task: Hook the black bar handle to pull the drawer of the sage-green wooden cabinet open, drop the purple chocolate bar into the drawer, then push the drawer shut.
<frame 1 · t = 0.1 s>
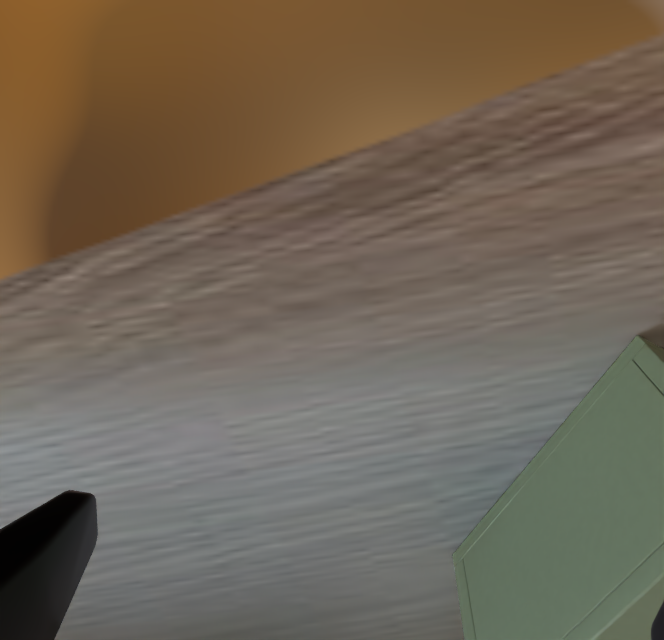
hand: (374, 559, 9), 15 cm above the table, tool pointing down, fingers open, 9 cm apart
cabinet: (661, 519, 26), on the table
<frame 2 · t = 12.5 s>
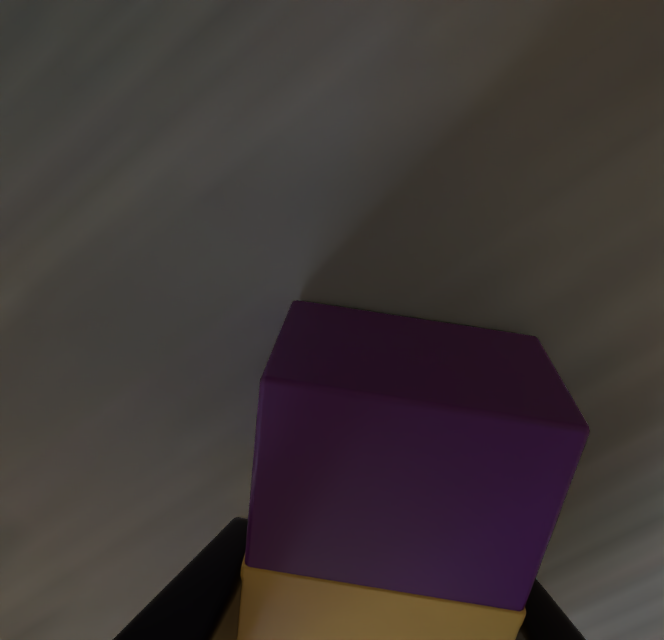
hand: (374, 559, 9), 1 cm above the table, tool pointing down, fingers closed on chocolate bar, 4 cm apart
chocolate bar: (374, 514, 10), on the table, touching gripper
when the fingers open (6 cm above the table, at t = 17.2 s): chocolate bar drops 2 cm, point 3 cm above the table.
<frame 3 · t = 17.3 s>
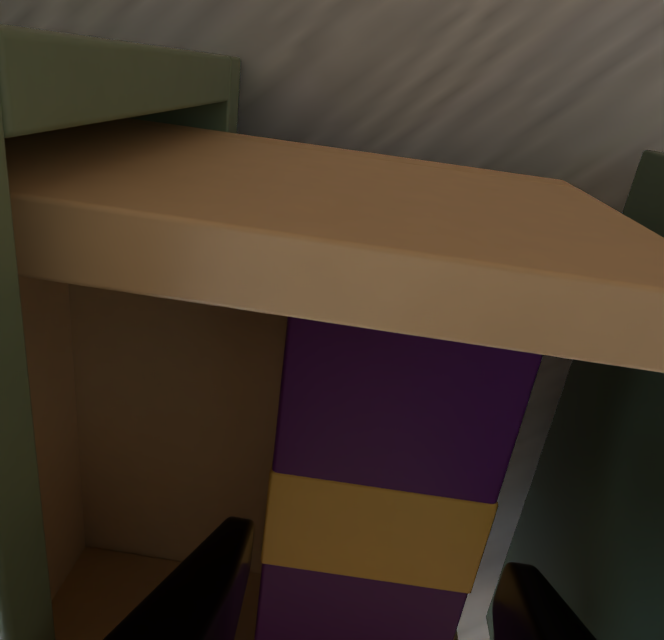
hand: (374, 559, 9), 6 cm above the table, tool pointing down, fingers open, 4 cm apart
drawer: (449, 514, 10), point 4 cm above the table, slide at 7.8 cm
chocolate bar: (374, 446, 12), point 3 cm above the table
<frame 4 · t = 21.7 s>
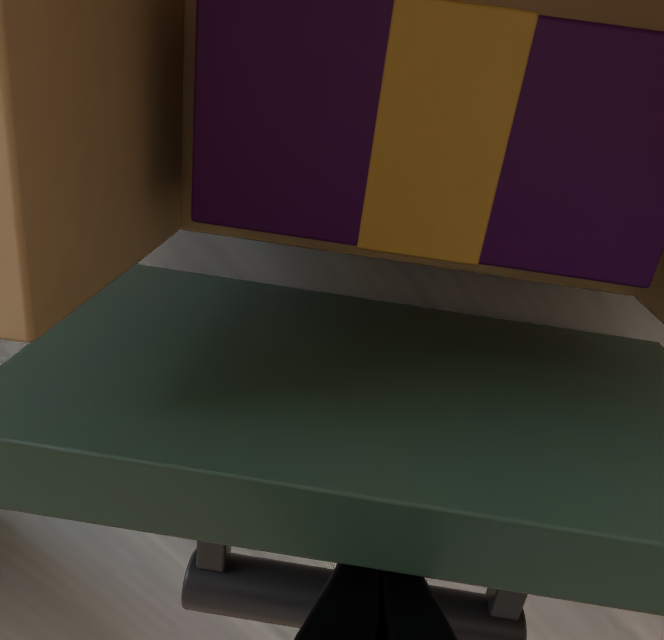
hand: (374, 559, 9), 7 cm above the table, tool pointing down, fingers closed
drawer: (424, 227, 9), point 4 cm above the table, slide at 8.7 cm, touching chocolate bar, gripper
chocolate bar: (428, 127, 11), point 2 cm above the table, touching drawer
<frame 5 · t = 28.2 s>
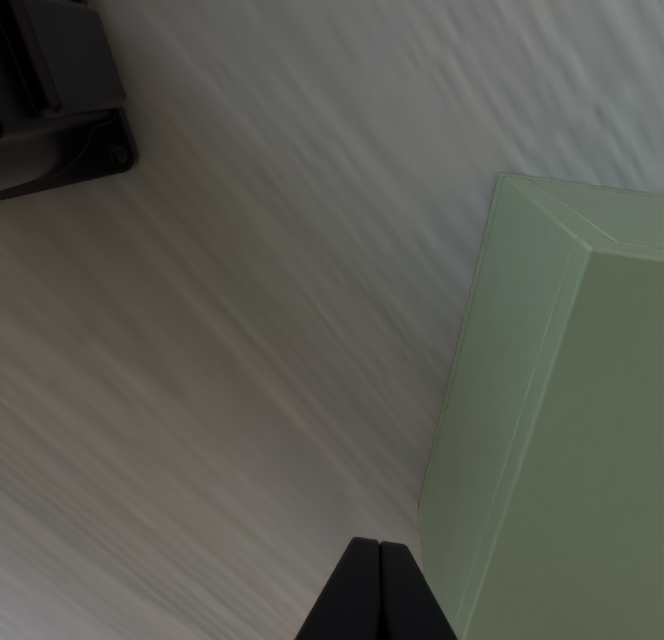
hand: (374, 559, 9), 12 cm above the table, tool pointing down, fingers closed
cabinet: (640, 389, 20), on the table
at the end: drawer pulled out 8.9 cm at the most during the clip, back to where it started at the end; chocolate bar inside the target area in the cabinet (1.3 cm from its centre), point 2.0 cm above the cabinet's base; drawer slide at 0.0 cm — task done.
